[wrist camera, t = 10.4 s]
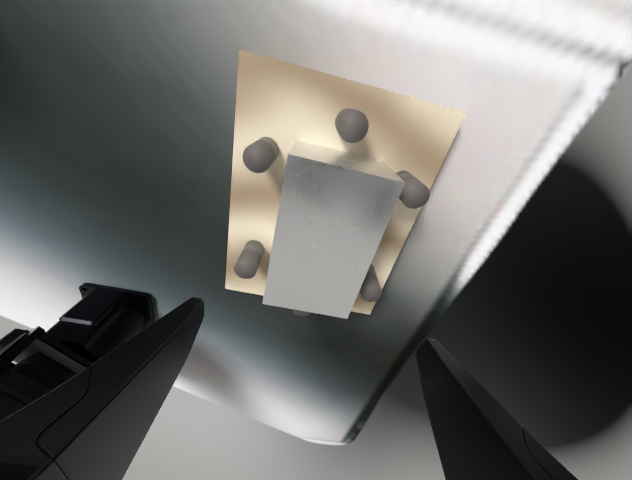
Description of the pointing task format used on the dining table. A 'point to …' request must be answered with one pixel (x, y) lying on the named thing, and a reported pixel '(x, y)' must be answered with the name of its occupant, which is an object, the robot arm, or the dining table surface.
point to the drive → (328, 228)
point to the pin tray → (330, 131)
